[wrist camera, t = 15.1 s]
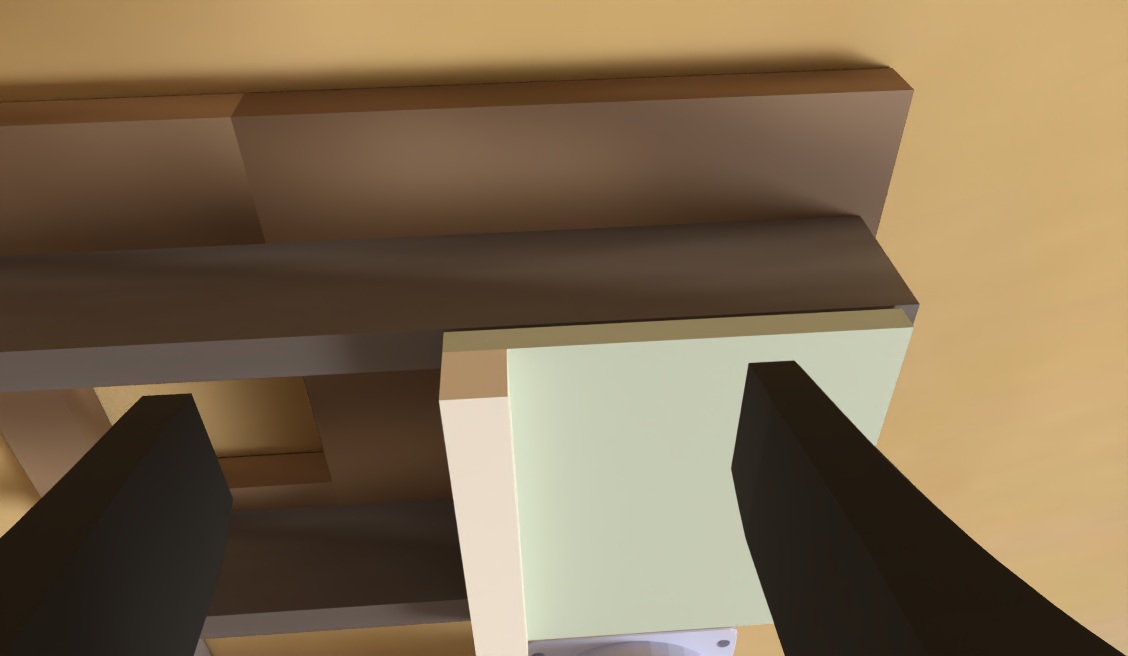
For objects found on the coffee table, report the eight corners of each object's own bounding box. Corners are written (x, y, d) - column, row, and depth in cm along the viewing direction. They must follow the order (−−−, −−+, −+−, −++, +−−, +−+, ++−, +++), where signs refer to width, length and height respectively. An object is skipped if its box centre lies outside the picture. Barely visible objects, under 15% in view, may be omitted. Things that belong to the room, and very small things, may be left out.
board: (781, 528, 28) (824, 653, 25) (119, 570, 27) (63, 708, 24) (892, 68, 18) (990, 166, 15) (-148, 107, 17) (-317, 224, 14)
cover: (813, 600, 23) (835, 666, 21) (482, 623, 22) (481, 691, 21) (901, 308, 16) (942, 372, 15) (443, 332, 16) (439, 400, 14)
